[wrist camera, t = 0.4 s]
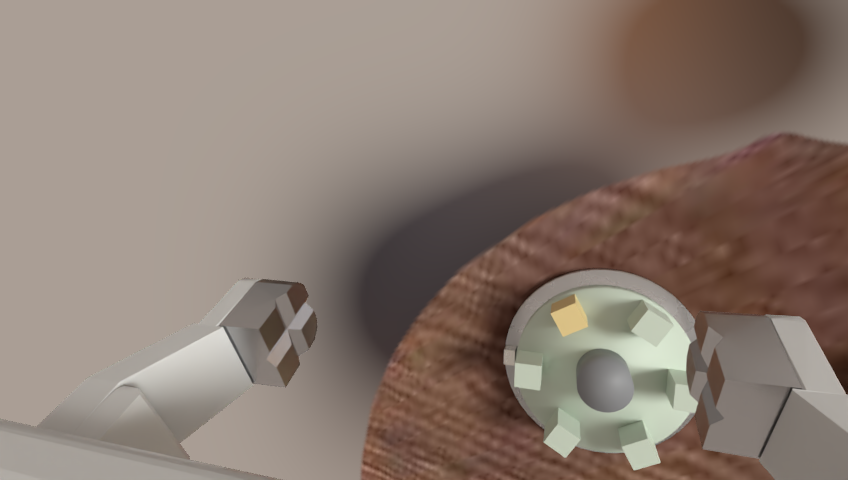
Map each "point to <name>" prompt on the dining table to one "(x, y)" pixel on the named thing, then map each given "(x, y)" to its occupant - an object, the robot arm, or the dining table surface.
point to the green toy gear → (605, 372)
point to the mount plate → (582, 279)
